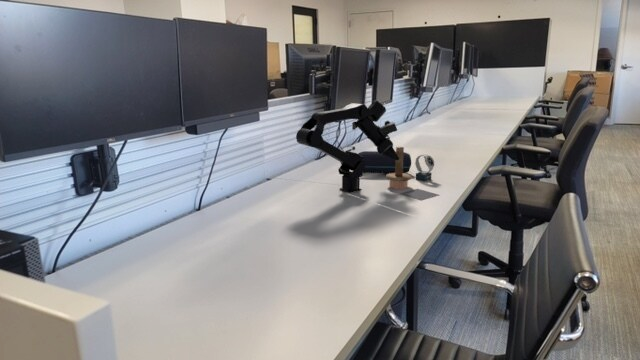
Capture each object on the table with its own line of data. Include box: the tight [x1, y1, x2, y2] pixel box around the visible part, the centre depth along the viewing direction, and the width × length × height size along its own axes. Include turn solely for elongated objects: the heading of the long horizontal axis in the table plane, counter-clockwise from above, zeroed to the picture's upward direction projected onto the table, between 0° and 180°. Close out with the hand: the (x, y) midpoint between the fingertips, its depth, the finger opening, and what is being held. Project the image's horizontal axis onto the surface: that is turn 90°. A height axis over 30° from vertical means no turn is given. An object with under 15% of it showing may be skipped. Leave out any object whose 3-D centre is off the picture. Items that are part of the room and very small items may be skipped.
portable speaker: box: [357, 150, 412, 174], centre depth 205 cm, size 25×10×10 cm, turn 85°
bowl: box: [388, 180, 409, 190], centre depth 182 cm, size 7×7×4 cm
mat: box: [398, 188, 440, 202], centre depth 172 cm, size 11×11×1 cm
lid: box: [385, 146, 412, 182], centre depth 180 cm, size 10×10×12 cm
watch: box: [414, 153, 435, 182], centre depth 192 cm, size 6×8×11 cm
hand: (397, 157), depth 179 cm, fingers open, 9 cm apart
